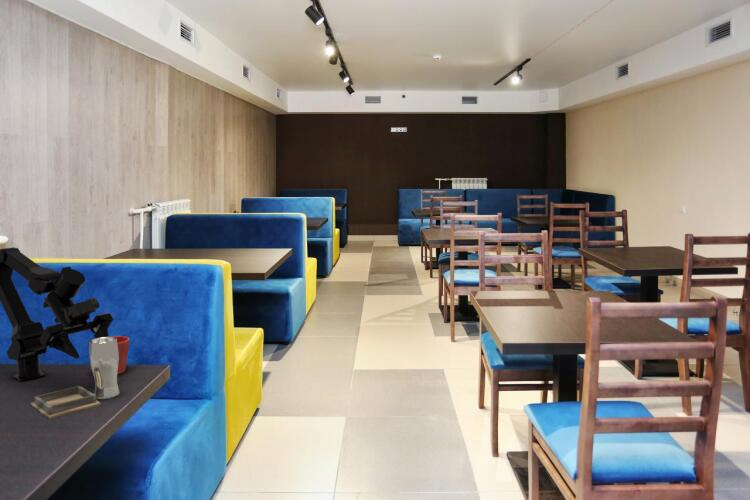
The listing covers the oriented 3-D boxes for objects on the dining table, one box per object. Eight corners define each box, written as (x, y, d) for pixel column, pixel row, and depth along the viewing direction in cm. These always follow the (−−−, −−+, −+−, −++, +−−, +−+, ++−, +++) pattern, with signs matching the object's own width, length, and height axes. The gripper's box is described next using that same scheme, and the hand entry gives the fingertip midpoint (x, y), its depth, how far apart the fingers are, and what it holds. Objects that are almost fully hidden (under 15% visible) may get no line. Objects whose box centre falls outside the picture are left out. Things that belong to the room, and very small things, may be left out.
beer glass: (110, 400, 154) (106, 343, 153) (86, 399, 156) (82, 342, 154) (126, 391, 161) (123, 336, 159) (103, 389, 163) (99, 335, 161)
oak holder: (30, 404, 153) (29, 395, 152) (79, 392, 161) (79, 383, 161) (49, 418, 143) (48, 409, 143) (100, 404, 151) (100, 396, 151)
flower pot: (102, 366, 183) (100, 335, 182) (137, 366, 183) (135, 335, 182) (84, 377, 173) (81, 345, 172) (121, 377, 172) (119, 345, 171)
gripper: (42, 296, 152) (73, 343, 148) (106, 284, 168) (136, 326, 164) (26, 323, 156) (56, 370, 152) (90, 309, 173) (119, 351, 169)
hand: (94, 353), depth 159 cm, fingers open, 9 cm apart
